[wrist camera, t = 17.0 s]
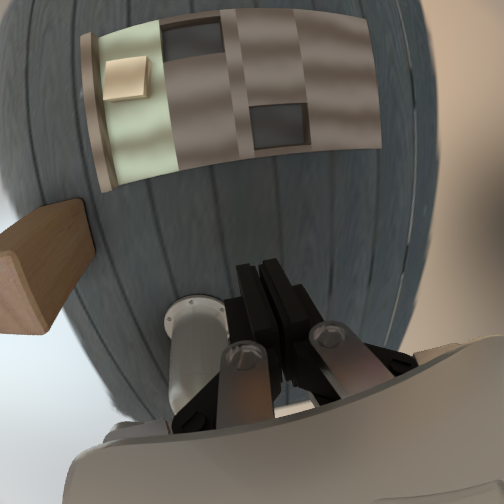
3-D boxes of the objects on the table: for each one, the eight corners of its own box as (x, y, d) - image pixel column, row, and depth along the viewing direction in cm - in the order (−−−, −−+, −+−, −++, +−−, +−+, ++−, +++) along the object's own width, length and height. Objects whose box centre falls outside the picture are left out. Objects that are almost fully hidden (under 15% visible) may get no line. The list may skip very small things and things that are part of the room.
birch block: (149, 98, 28) (143, 94, 25) (113, 102, 27) (102, 100, 24) (152, 63, 26) (146, 55, 22) (115, 67, 25) (106, 61, 22)
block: (52, 261, 37) (-5, 336, 20) (36, 206, 33) (-39, 263, 15) (98, 254, 39) (48, 339, 21) (84, 195, 34) (9, 253, 17)
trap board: (371, 146, 39) (393, 150, 33) (115, 183, 35) (101, 193, 29) (356, 24, 29) (376, 14, 23) (95, 46, 25) (80, 36, 19)
